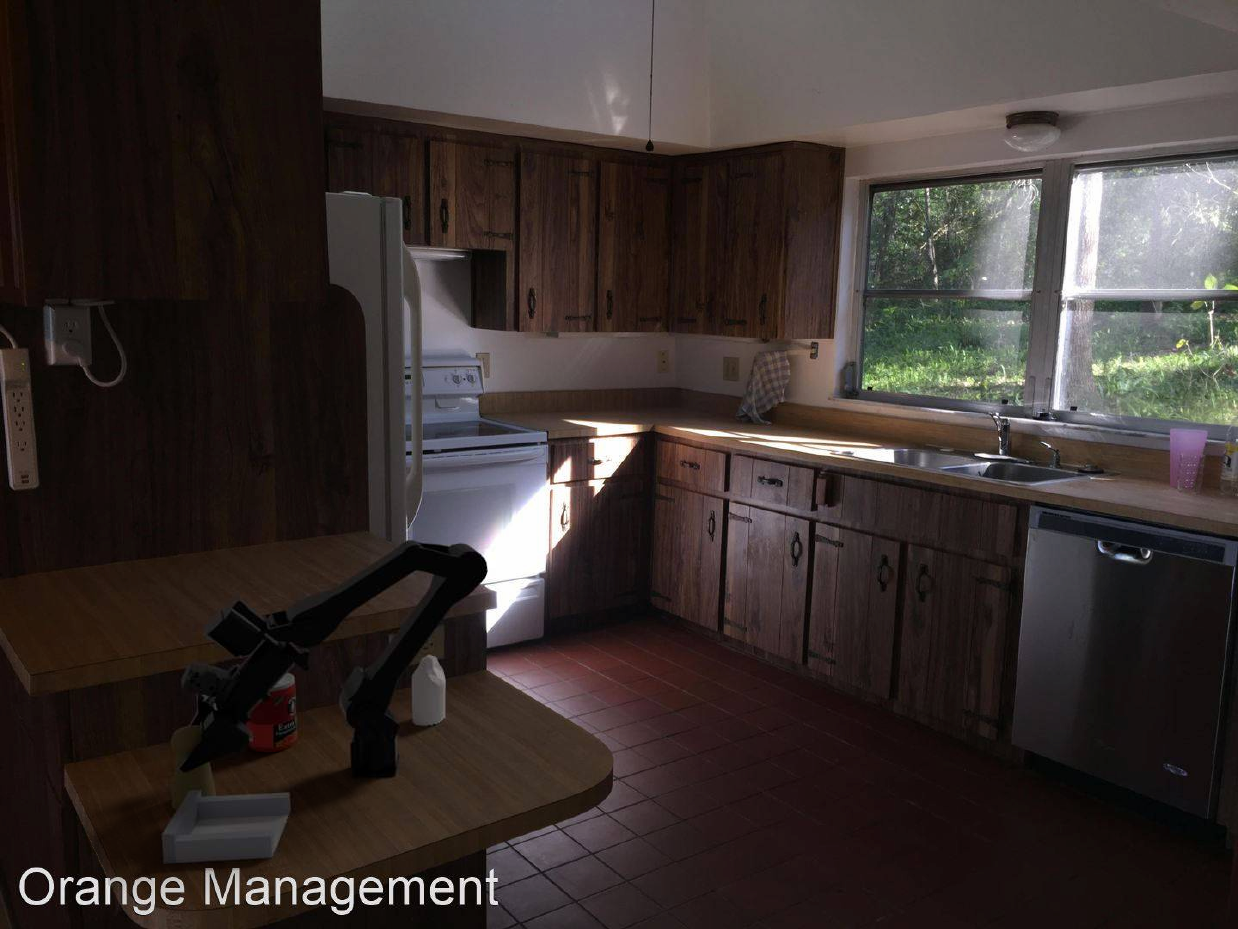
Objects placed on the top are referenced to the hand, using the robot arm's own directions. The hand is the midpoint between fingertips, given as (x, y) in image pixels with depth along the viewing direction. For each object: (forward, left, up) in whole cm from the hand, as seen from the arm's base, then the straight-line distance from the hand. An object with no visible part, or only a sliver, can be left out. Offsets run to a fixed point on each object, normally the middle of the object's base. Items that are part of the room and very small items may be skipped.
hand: (181, 759), depth 145 cm
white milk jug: (-33, -26, -7) cm, 43 cm away
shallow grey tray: (-10, +11, -7) cm, 16 cm away
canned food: (-8, -19, -7) cm, 22 cm away
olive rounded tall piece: (-1, 0, -7) cm, 7 cm away
